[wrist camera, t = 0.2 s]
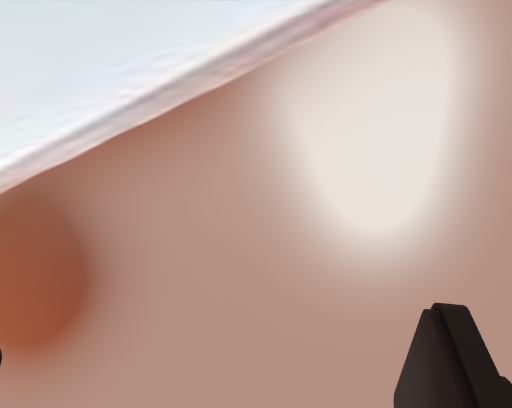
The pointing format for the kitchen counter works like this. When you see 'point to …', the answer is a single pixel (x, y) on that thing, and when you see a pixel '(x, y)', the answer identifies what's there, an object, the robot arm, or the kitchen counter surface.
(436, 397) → the robot arm
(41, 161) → the kitchen counter surface
